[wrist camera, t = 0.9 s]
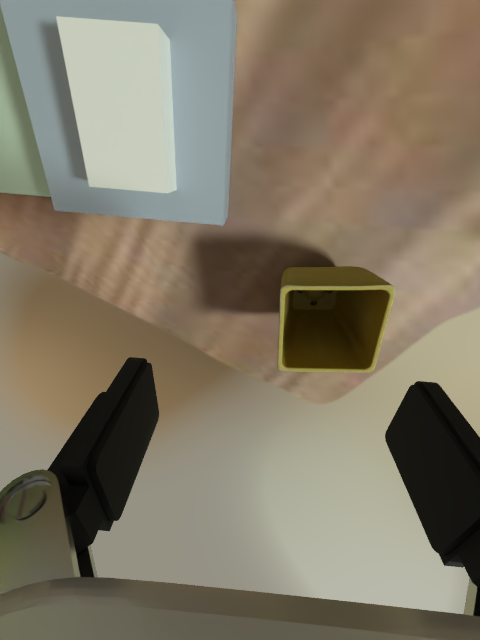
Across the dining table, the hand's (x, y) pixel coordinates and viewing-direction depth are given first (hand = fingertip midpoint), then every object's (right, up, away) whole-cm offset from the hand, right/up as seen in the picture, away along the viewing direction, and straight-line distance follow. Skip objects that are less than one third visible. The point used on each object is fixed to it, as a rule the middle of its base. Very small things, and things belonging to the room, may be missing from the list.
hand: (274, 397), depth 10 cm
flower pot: (+7, +6, +21) cm, 23 cm away
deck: (-10, +20, +14) cm, 26 cm away
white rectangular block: (-9, +18, +10) cm, 23 cm away
